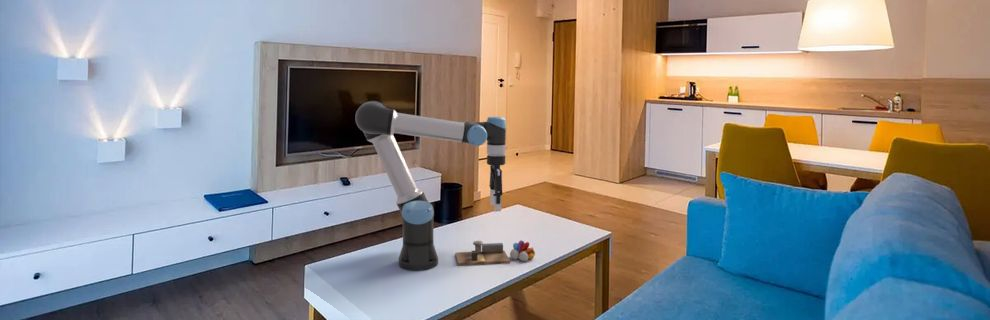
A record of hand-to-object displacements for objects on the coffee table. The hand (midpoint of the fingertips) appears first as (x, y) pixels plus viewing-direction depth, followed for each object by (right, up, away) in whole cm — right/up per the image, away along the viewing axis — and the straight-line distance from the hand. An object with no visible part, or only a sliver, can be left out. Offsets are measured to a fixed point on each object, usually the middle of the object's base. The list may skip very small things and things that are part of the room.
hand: (495, 208), depth 220 cm
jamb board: (-5, -19, -9) cm, 22 cm away
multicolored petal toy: (+11, -20, -8) cm, 24 cm away
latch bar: (-1, -17, -4) cm, 18 cm away
